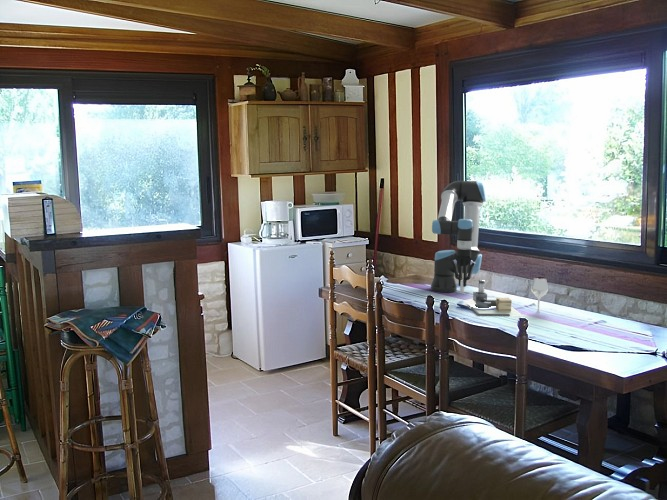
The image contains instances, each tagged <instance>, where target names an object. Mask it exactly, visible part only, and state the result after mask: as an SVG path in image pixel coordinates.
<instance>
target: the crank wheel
mask: <svg viewBox="0 0 667 500" xmlns="http://www.w3.org/2000/svg"><path fill="white" fill-rule="evenodd" d="M472 300H473V301H474V302H475V303H476V304H475V306H476V307H478V308H489V307H491V306H496V299H488V294H487V292H485V291H484V294H478V291H473V293H472Z"/></svg>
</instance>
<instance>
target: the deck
mask: <svg viewBox="0 0 667 500" xmlns="http://www.w3.org/2000/svg"><path fill="white" fill-rule="evenodd" d="M468 308H469V309H470V310H471V311H472V312H473V313H474V314H475V315H476V317H504V318H505V317H509V318H510V317H511V318H512V317H514V318H515V317H517V318H519V317H520V318H523V317H525V315H523V314H522V313H520V311H518V310H516V308H514V307H513V306H512V305H511V312H499V311H498V310H497V309H494V310H479V309H475V308H473V307H469V306H468Z"/></svg>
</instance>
